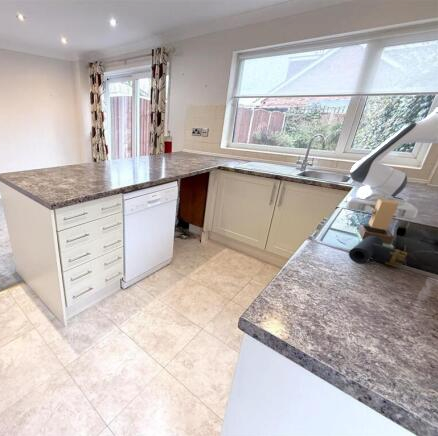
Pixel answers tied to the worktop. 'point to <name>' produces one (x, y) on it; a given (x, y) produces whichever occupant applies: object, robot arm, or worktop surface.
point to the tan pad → (383, 214)
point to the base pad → (375, 234)
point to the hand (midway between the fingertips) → (384, 213)
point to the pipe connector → (376, 252)
